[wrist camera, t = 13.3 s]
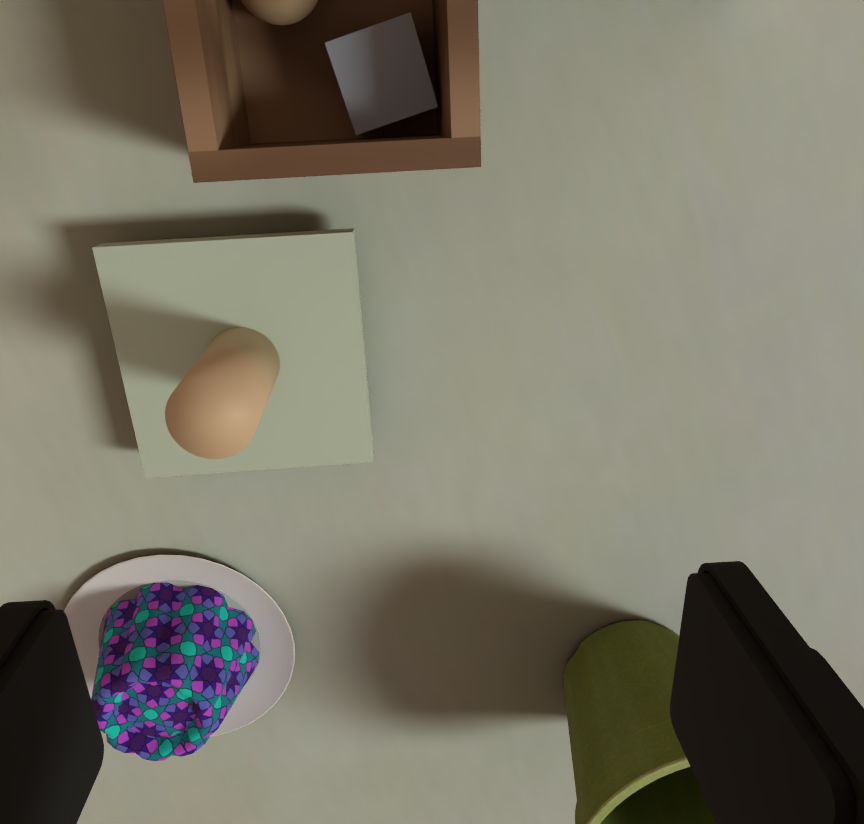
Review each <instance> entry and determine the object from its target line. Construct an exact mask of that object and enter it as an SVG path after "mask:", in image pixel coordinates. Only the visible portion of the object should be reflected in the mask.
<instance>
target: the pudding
mask: <svg viewBox="0 0 864 824" xmlns="http://www.w3.org/2000/svg"><path fill="white" fill-rule="evenodd" d="M165 580H184V581H190V582H196V583H200V584H203V585H206V586H210V587H212V588H214V589H217V590H219V591H221V592H223V593H225V594H226V595H228V596H229V597H231V598H232V599H234V600H235V601H236V602H237V603H239V604H240V605H241V606H242V607H243V608H244V609H245V610H246V611H247V613H248V614H249V616H250V617H251V618H252V619H251V618H250V617H249V616H248V615H247V614H246V613H245V612H244V611H241V610H237V609H233V608H230V607H228V605H227V603H226V600H225V598H224V596H223V595H222V594H220V593H219V592H217V591H215V590H214V589H212V588H209V587H204V586H199V585H196V586H193V587H190V588H187V589H183V590H182V589H180V588H178V587H176V586H174V585H172V584H170V583H153V584H151V585H148V586H146V587H143V588H141V590H140V592H139V594H138V596H137V597H136V599H135V600H125V601H119V602H118V603H117V604H115V605H114V606H113V607H112V608H110V610H109V612H108V615H107V617H106V620H105V626H104V632H103V638H102V640H101V645H100V648H99V641H98V638H99V628H100V625H101V622H102V619H103V617H104V615H105V614H106V612H107V610H108V609H109V607H110V606H111V605H112V604H113V603H114V602H115V601H116V600H117V599H118V598H119V597H121V596H122V595H124V594H125V593H126V592H128V591H130V590H132V589H134V588H136V587H139V586H141V585H145V584H148V583H152V582H157V581H165ZM64 612H65V614H66V616H67V618H68V622H69V625H70V629H71V632H72V636H73V639H74V643H75V646H76V649H77V653H78V656H79V660H80V663H81V667H82V670H83V673H84V677H85V680H86V684H87V687H88V691H89V694H90V698H91V701H92V704H93V708H94V711H95V715H96V718H97V722H98V725H99V728H100V731H102V732H104V733H106V736H107V742H108V743H109V744H110V745H111V746H112V747H113V748H115V749H117V750H119V751H121V752H124V753H136V754H138V755H139V756H140V757H141V758H143V759H146V760H151V761H159V760H165V759H167V758H168V757H170V756H171V755H175V756H186V755H189V754H192V753H194V752H195V751H197V750H198V749H199V748H200V747H201V746H203V745H204V744H205V743H206V742H207V740H208V738H209V737H213V736H218V735H221V734H225V733H228V732H232V731H235V730H237V729H239V728H241V727H244V726H246V725H248V724H250V723H252V722H253V721H255V720H256V719H258V718H259V717H261V716H262V715H264V714H265V713H266V712H267V711H268V710H269V709H270V708H271V707H273V706H274V705H275V704H276V702H277V701H278V700H279V698H280V697H281V696H282V694H283V693H284V692H285V690H286V688H287V686H288V684H289V681H290V679H291V677H292V673H293V668H294V664H295V644H294V639H293V635H292V631H291V628H290V626H289V624H288V622H287V619H286V617H285V615H284V613H283V612H282V611H281V609H280V608H279V606H278V605H277V604H276V602H275V601H274V599H273V598H272V597H270V596H269V595H268V594H267V593H266V592H265V591H264V590H263V589H262V588H261V587H260V586H259V585H257V584H256V583H255V582H253V581H252V580H250V579H249V578H247V577H246V576H244V575H243V574H241V573H239V572H237V571H235V570H233V569H231V568H228V567H226V566H224V565H221V564H218V563H215V562H212V561H209V560H205V559H202V558H195V557H189V556H183V555H154V556H146V557H138V558H135V559H131V560H128V561H124V562H121V563H117V564H115V565H113V566H111V567H109V568H107V569H105V570H103V571H101V572H99V573H98V574H96V575H95V576H94V577H92V578H91V579H90V580H88V581H87V582H85V583H84V584H83V585H82V586H81V588H80V589H79V590H78V591H77V592H76V593H75V594H74V595H73V596H72V598H71V600H70V601H69V603H68V605H67V606H66V608H65V610H64ZM252 620H253V621H254V624H255V626H256V628H257V630H258V633H259V637H260V641H261V654H260V659H259V652H258V651H257V649H256V648H255V647H254V646H253V645H252V643H251V640H252V638H253V636H254V634H255V632H256V630H255V627H254V624H253V621H252ZM258 662H259V663H258ZM257 664H258V666H257ZM256 666H257V668H256ZM255 668H256V670H255V672H254V674H253V675H252V677H251V678H250V676H251V674H252V673H253V671H254V669H255ZM249 678H250V680H249V681H248V679H249ZM247 681H248V682H247ZM246 682H247V683H246Z"/></svg>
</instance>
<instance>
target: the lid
mask: <svg viewBox="0 0 864 824" xmlns="http://www.w3.org/2000/svg"><path fill="white" fill-rule="evenodd" d="M92 249H93V253H94V258H95V262H96V266H97V271H98V275H99V279H100V284H101V288H102V292H103V297H104V301H105V306H106V310H107V314H108V319H109V323H110V327H111V332H112V336H113V340H114V345H115V349H116V353H117V358H118V362H119V366H120V371H121V375H122V379H123V384H124V388H125V393H126V397H127V401H128V406H129V410H130V414H131V419H132V423H133V427H134V432H135V436H136V440H137V445H138V449H139V453H140V458H141V462H142V466H143V471H144V475H145V478H158V477H172V476H186V475H199V474H213V473H227V472H241V471H255V470H268V469H282V468H296V467H310V466H324V465H337V464H351V463H365V462H374V447H373V436H372V425H371V413H370V402H369V391H368V379H367V368H366V357H365V346H364V334H363V323H362V312H361V301H360V289H359V278H358V267H357V255H356V244H355V233H354V228H353V229H336V230H319V231H302V232H285V233H268V234H251V235H234V236H217V237H200V238H183V239H166V240H149V241H132V242H115V243H101V244H99V245H97V246H94V247H92Z"/></svg>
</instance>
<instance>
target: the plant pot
mask: <svg viewBox="0 0 864 824" xmlns="http://www.w3.org/2000/svg"><path fill="white" fill-rule="evenodd" d="M678 643H679V636H678V635H677V634H676V633H675V632H673V631H671V630H669V629H666V628H664V627H662V626H659V625H656V624H654V623H651V622H649V621H640V620H636V621H624V622H619V623H615V624H611V625H609V626H606V627H604V628H602V629H600V630H598V631H596V632H594V633H592V634H591V635H590V636H588V637H587V638H586V639H585V640H584V641H582V642H581V644H580V646H579V648H578V649H577V651H576V652H575V654H574V655H573V657H572V658H571V659H570V660H569V661H568V662H567V664H566V668H565V671H564V680H563V681H564V691H565V700H566V709H567V718H568V727H569V735H570V744H571V752H572V761H573V769H574V778H575V786H576V795H577V804H576V810H575V824H716V822H715V820H714V817H713V815H712V813H711V811H710V809H709V806H708V804H707V802H706V800H705V798H704V795H703V793H702V791H701V789H700V787H699V784H698V782H697V780H696V778H695V776H694V773H693V771H692V769H691V767H690V765H689V762H688V760H687V758H686V756H685V753H684V751H683V749H682V747H681V745H680V742H679V740H678V738H677V736H676V734H675V731H674V729H673V726H672V722H671V716H670V700H671V693H672V686H673V679H674V672H675V665H676V658H677V650H678Z"/></svg>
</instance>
